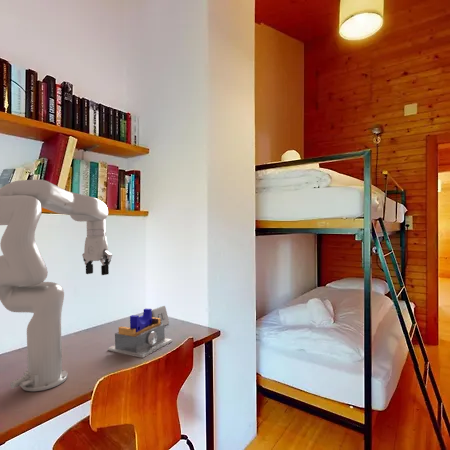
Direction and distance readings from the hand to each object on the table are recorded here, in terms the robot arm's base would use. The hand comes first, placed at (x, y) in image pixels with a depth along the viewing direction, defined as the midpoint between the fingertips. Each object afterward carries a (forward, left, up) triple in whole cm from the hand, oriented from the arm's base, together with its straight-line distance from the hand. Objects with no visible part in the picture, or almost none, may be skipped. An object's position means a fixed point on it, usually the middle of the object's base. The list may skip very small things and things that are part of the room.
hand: (97, 274), depth 132 cm
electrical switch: (+29, -8, -30) cm, 43 cm away
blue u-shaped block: (+5, -18, -22) cm, 29 cm away
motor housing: (+5, -18, -29) cm, 35 cm away
